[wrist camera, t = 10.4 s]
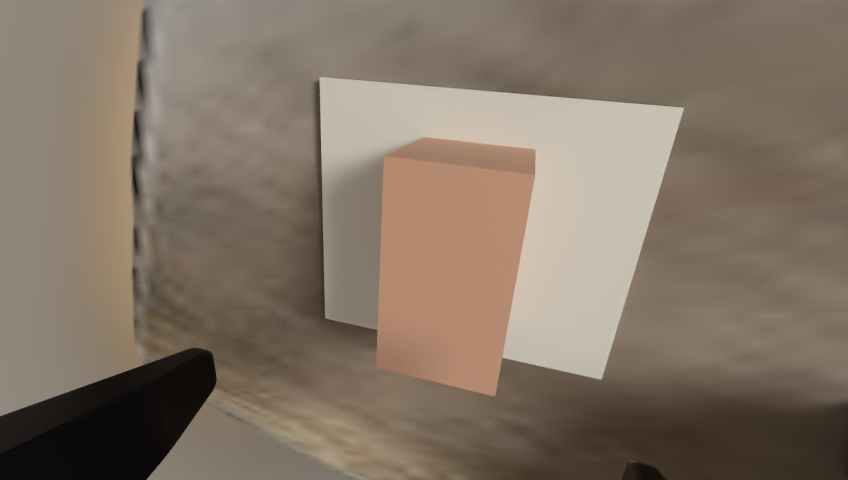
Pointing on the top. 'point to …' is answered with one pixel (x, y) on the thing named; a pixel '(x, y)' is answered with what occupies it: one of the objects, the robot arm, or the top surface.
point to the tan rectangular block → (450, 258)
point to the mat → (548, 213)
